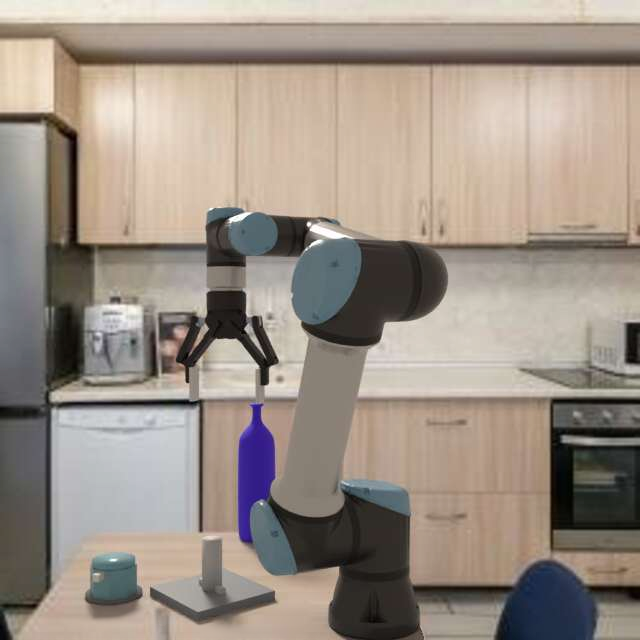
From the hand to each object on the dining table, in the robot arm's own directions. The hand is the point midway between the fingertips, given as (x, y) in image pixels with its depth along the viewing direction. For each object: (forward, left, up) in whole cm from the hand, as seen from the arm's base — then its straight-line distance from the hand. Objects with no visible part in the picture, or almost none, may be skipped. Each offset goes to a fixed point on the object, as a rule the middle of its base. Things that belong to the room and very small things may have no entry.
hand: (226, 402), depth 160 cm
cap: (+5, +21, -33) cm, 39 cm away
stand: (-7, +8, -34) cm, 35 cm away
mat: (+5, +21, -34) cm, 40 cm away
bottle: (+18, -20, -34) cm, 43 cm away
